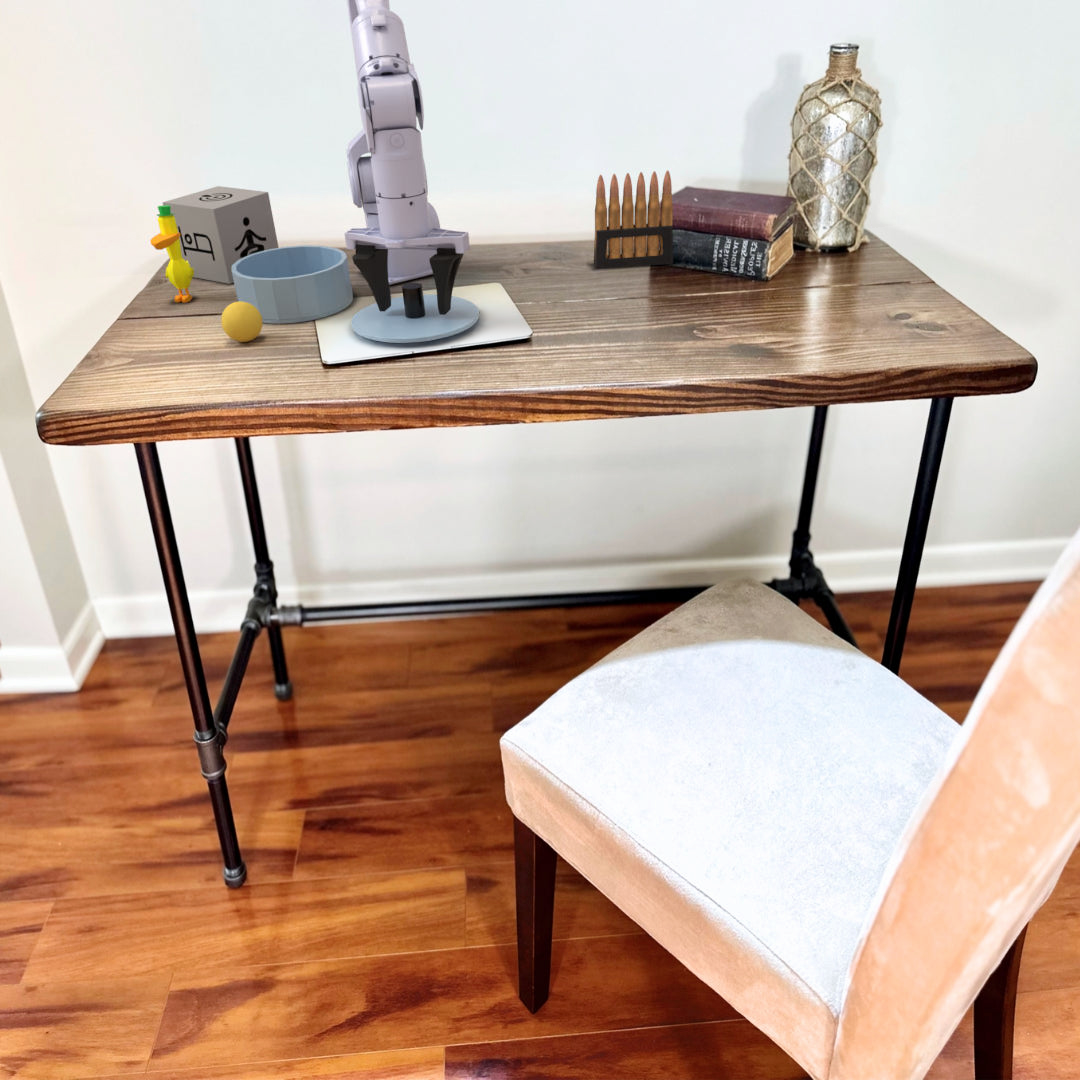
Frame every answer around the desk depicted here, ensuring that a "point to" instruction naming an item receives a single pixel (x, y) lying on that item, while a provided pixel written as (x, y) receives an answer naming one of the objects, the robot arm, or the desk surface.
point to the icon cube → (222, 229)
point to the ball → (241, 321)
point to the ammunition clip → (633, 225)
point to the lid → (414, 318)
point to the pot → (294, 282)
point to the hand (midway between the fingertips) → (414, 310)
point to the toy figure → (173, 253)
